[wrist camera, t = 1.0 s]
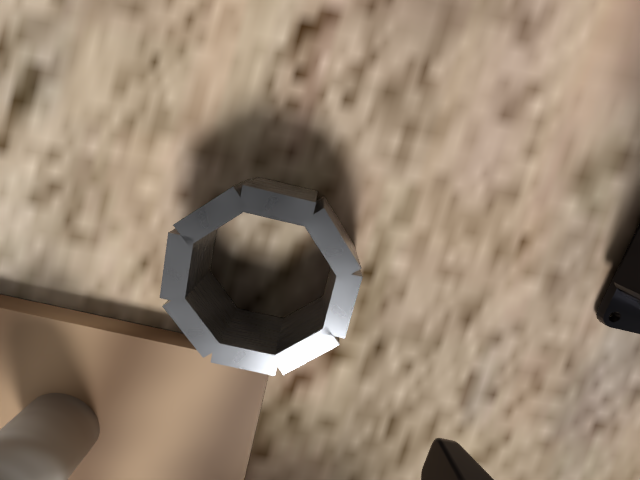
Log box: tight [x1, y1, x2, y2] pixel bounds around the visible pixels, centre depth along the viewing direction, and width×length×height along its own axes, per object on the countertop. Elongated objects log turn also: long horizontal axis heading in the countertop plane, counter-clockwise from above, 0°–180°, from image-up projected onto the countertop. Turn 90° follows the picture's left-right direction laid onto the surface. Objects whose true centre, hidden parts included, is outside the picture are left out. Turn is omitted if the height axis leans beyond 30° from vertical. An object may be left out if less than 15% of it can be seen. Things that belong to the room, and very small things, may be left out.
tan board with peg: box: [0, 294, 268, 480], centre depth 15 cm, size 14×11×6 cm
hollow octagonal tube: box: [160, 177, 362, 376], centre depth 14 cm, size 7×7×3 cm
